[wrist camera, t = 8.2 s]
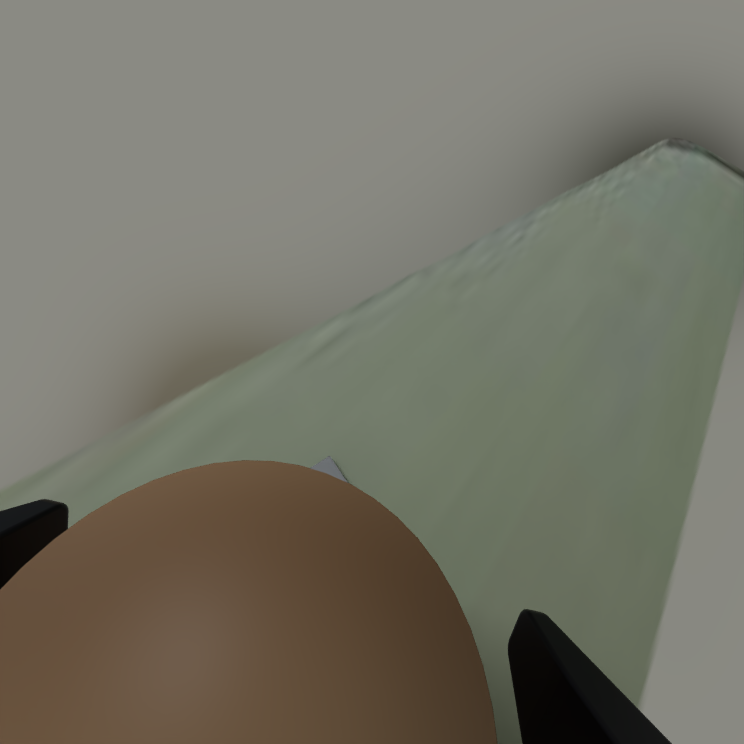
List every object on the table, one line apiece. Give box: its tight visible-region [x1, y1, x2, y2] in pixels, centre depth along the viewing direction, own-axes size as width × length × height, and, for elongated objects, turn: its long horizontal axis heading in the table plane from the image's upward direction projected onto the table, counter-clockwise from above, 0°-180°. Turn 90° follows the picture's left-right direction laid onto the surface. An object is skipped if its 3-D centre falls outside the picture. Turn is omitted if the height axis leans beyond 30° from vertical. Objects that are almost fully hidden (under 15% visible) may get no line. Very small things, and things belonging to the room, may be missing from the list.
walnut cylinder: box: [0, 460, 497, 744], centre depth 8 cm, size 5×5×12 cm
